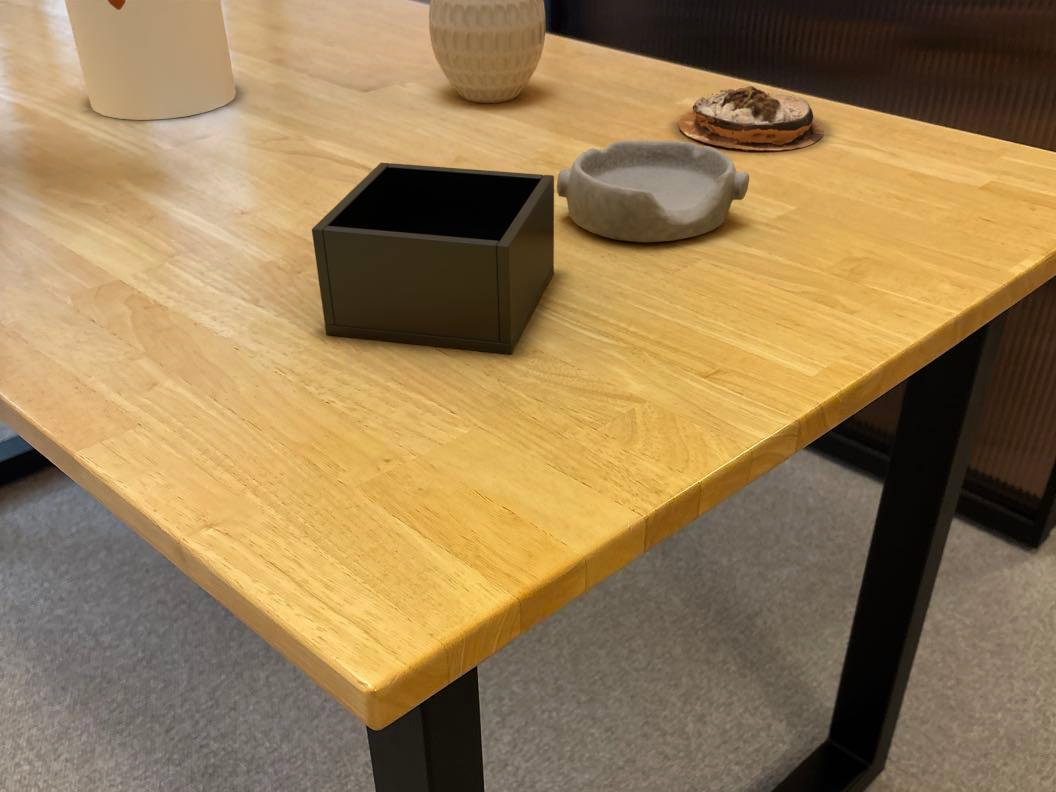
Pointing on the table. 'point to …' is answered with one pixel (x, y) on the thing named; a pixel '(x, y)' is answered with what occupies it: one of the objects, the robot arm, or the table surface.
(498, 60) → the vase
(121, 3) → the carrot
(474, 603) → the table surface
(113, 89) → the canister
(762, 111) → the cake
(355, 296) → the black open box
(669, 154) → the dish
